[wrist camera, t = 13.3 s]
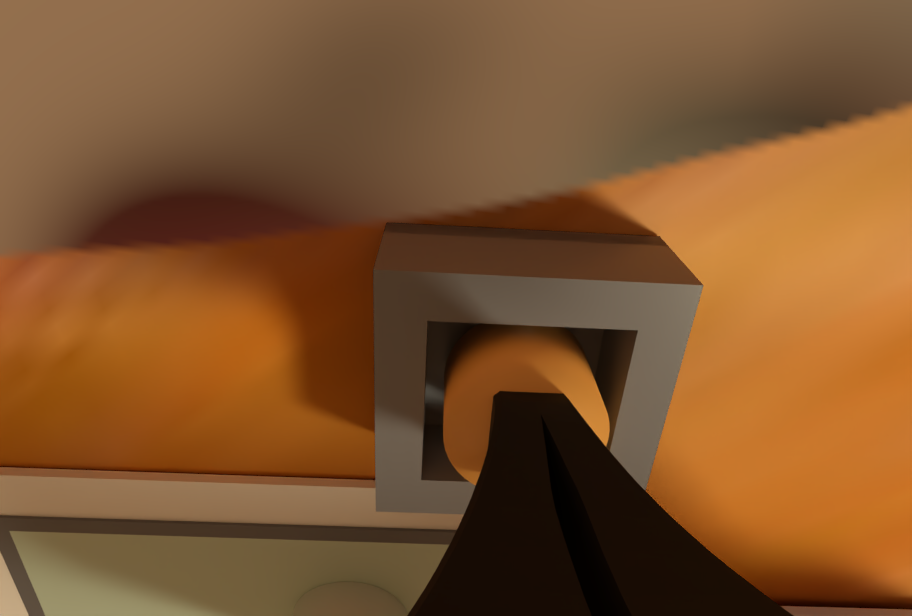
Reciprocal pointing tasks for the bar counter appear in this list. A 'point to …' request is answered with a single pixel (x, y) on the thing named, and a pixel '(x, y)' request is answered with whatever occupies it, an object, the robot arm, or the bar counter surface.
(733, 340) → the bar counter surface
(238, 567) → the picture sheet
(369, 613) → the cylinder
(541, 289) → the button housing
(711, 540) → the bar counter surface
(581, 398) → the button
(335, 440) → the bar counter surface
